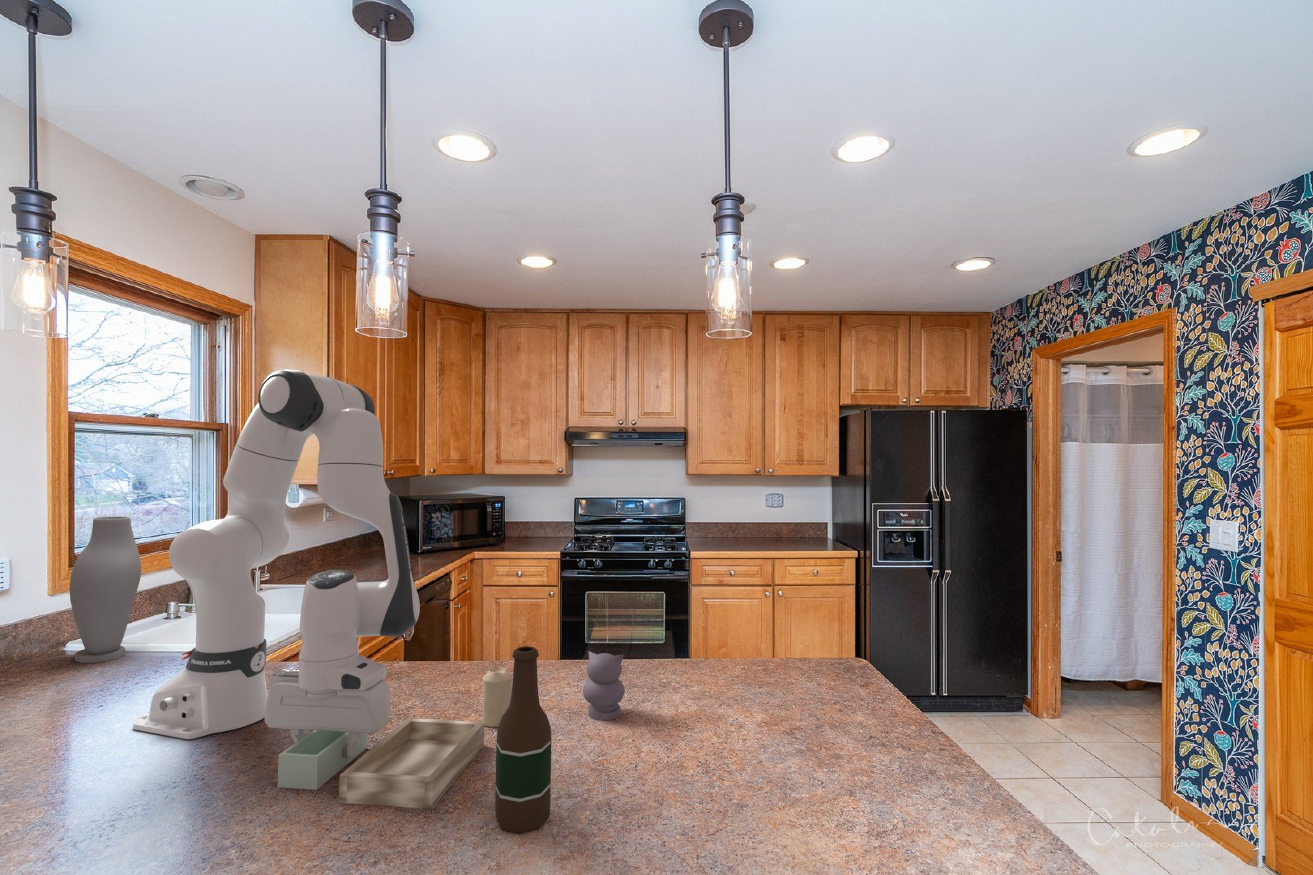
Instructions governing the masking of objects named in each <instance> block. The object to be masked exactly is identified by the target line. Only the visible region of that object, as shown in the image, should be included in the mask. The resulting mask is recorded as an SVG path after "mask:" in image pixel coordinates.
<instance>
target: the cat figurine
mask: <svg viewBox="0 0 1313 875" xmlns="http://www.w3.org/2000/svg"><path fill="white" fill-rule="evenodd" d="M624 656H625V653H622V654H616V655H613V654H611V653H606V652H605V653H603V652H602V653H598V654H597V653H595V652H592V651H588V662H587V665H586V673H587V676H588V679H587V680H586V682H585V683H584V685H583V686H582V694H583V697H584V699H585V701H586V702H587V703H588V704H589V705H588V707H587V708H588V711H587V712H588V714H587V715H588V717H589V718H590V719H592V720H596V721H602V722H603V721H610V720H615V719H616V718H618V717H619V716H620V715H621V706H620V704H619V703H620V702H621V701H622V700H623V698H624V696H625V693H626V690H625V689H626V688H625V685H624V683H623V682H622V680H621V679H620V678H621V677H620V676H621V675H622V670H623V666H622V663H623V659H624Z"/></svg>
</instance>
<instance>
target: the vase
mask: <svg viewBox="0 0 1313 875" xmlns="http://www.w3.org/2000/svg"><path fill="white" fill-rule="evenodd" d="M141 577H142V561H141V556H140V552H139V549H138V545H137V542H136V539H135V536H134V532H133V528H132V521H131V517H130V516H126V515H125V516H123V515H121V516H120V515H118V516H117V515H116V516H115V515H113V516H98V517H94V518H93V519H92V528H91V536H90V539H89V542H88V544H87V545H85V547H84V549H83V550H82V551H81V552H80V554H79V555H78V557H77V558H76V561H75V563H74V565H73V567H72V570H71V573H70V580H69V588H68V589H69V600H70V605H71V609H72V613H73V614H72V615H73V617H74V621H75V624H76V628H77V630H78V634H79V637H80V640H81V643H82V645H83V647H84V649H80V650H77V651H76V652H75V653H74V661H75V662H77V663H81V664H90V663H91V664H93V663H94V664H95V663H102V662H103V663H104V662H108V661H113V660H117V659H120V658H122V657H124V656H125V653H126V647H125V646H123V645H122V642H123V639H124V637H125V634H126V631H127V628H128V623H129V620H130V617H131V613H132V609H133V605H134V602H135V599H136V595H137V593H138V589H139V585H140V581H141Z"/></svg>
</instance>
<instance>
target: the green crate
mask: <svg viewBox="0 0 1313 875" xmlns="http://www.w3.org/2000/svg"><path fill="white" fill-rule="evenodd" d="M368 734H369V733H363V734H362V736H361V738H360V739H359V741H358V743H357V744H356V754H355V756H353V757H352V758H342V754H343V753H342V748H343V747H344V746H346V744H348V743H349V742H350V741H351V739H352V738H348V732H338V731H319V730H311V732H309V733H308V734H307V735H306V736H305V737H304V738H302V739H301V740H299V741H298V742H296V743H295V742H294V743H293V744H292V745H290V746H289V747H287V748H285V749H284V750H283V751H281V752H280V753H279V754H278V757H277V758H278V760H277V762H278V763H277V788H283V789H295V790H297V789H298V790H312V791H314V790H315V791H317V790H319V788H321V787H322V786H324V785H325V783H327V782H328V781H329V780H330V779H331V778H333V777H334V776H335V775H336V774H338V773H339V772H340V771H341V770H342V769H343V768H345V767H346V766H347V765H349V763H351V762H352V761H353V760H354V759H356V758H357V757H358V756H359V755H360V754H361V753H362V752H364V751H365V750H366V749H367V748H368V741H369V740H368V738H369V737H368Z"/></svg>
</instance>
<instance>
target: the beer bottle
mask: <svg viewBox="0 0 1313 875" xmlns="http://www.w3.org/2000/svg"><path fill="white" fill-rule="evenodd" d="M538 651H539V650H538V649H537V648H536V647H533V646H528V645H524V646H519V647H517V648H515V649H514V650H513V652H512V655H511V657H512V658H513V672H512V694H511V700H510V705H509V707H508V709H507V710H506V712H505V713H504V715H503V716H502V718H501V721H500V723H499V726H498V727H497V730H496V731H497V733H496V740H495V741H496V744H495V748H496V749H495V789H494V790H495V794H494V795H495V796H494V808H495V819H496V821H497V824H498V825H499V828H500V830H501V831H503V832H508V833H513V834H518V835H520V834H525V833H528V832H532V831H536V830H539V829H540V828H541V827H542V826H543V825H544V823H545V822H547V820H548V819H549V817H550V815H551V814H550V813H551V792H552V790H551V789H552V787H551V786H552V785H551V784H552V730H551V729H552V727H551V724H550V721H549V718H548V716H547V714H546V712H545V711H544V709H543V708H542V706H541V704H540V703H541V702H540V697H539V683H538V661H537V660H538V657H539V656H540V654H539V652H538Z"/></svg>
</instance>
